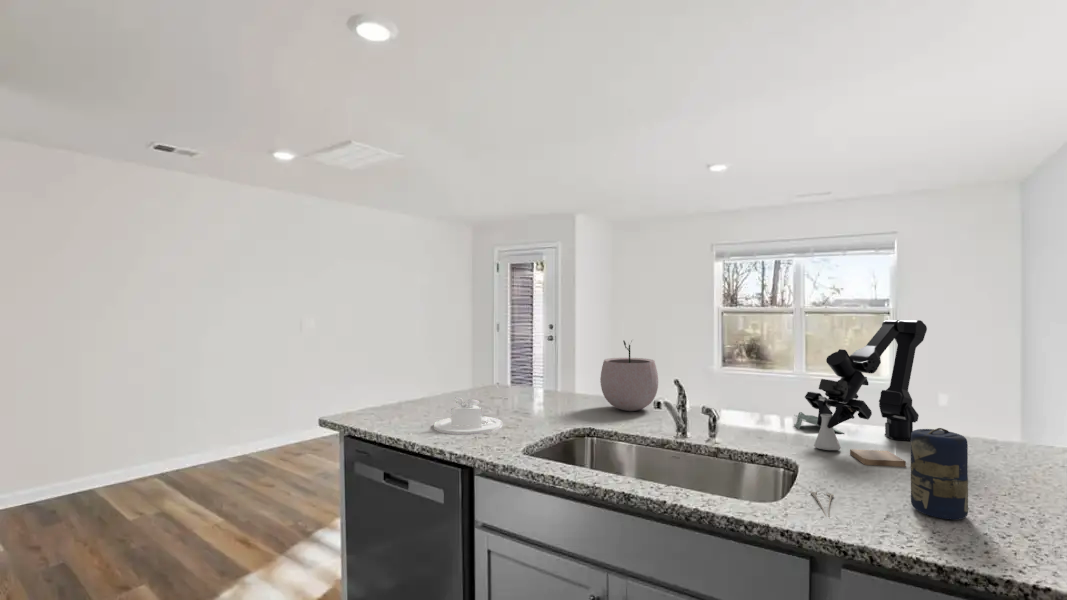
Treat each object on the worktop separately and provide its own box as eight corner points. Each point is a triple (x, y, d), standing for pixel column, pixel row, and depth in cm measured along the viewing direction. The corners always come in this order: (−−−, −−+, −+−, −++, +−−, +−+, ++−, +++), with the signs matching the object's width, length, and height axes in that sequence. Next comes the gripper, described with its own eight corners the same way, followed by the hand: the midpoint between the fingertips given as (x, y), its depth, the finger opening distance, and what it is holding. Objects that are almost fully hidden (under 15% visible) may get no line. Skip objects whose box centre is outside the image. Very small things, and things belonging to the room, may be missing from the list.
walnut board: (888, 456, 149) (888, 450, 149) (905, 466, 140) (905, 461, 140) (850, 454, 151) (850, 449, 151) (864, 464, 142) (864, 459, 142)
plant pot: (654, 404, 228) (653, 336, 228) (662, 416, 204) (662, 340, 204) (599, 403, 230) (599, 336, 230) (601, 415, 206) (601, 340, 207)
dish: (499, 435, 177) (499, 402, 177) (426, 435, 178) (426, 402, 178) (504, 419, 202) (504, 390, 202) (440, 419, 202) (440, 390, 202)
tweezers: (810, 495, 121) (810, 486, 121) (833, 498, 119) (833, 489, 119) (816, 529, 105) (816, 520, 105) (843, 534, 103) (843, 524, 103)
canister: (899, 505, 113) (898, 423, 113) (940, 504, 114) (939, 422, 114) (937, 524, 103) (936, 434, 104) (981, 522, 104) (980, 432, 104)
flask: (838, 445, 159) (837, 412, 159) (843, 452, 152) (843, 417, 152) (811, 443, 161) (810, 411, 161) (816, 450, 154) (815, 416, 154)
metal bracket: (806, 416, 177) (790, 408, 192) (802, 433, 177) (786, 423, 192) (849, 429, 175) (830, 419, 190) (844, 446, 175) (825, 434, 190)
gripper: (808, 366, 167) (783, 403, 162) (864, 373, 149) (838, 415, 145) (826, 388, 170) (802, 426, 165) (883, 398, 152) (858, 440, 148)
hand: (823, 426), depth 156 cm, fingers closed on flask, 3 cm apart
